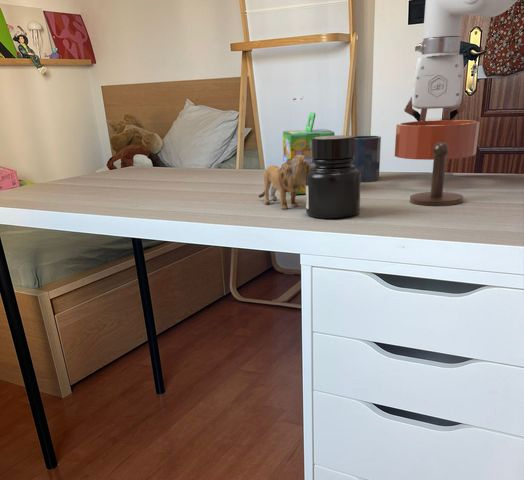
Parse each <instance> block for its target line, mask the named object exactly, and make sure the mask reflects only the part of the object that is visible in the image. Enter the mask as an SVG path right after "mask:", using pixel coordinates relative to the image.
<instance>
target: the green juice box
mask: <svg viewBox="0 0 524 480" xmlns="http://www.w3.org/2000/svg"><path fill="white" fill-rule="evenodd" d="M315 119H316V112H309V114H308V118H307V122H306V126H305V129H302V130H301V129H298V130H297V129H295V130H284V131H282V155H283V156H282V157H283V162H282V164H283V163H285V162H286V161H287V160H288V159H290V158H292V157H294V156H296V155H302V156H305V159H306V162H307V163H308V164H309V165H310V166H312V167H313V166H315V163H313V162H312V159H313V158H312V138H314V137H321V136H336V135H335V131H333V130H331V129H327V128H326V129H325V128H319V129H314V124H315ZM288 193H289V194H290V195H291V192H288ZM296 195H306V182H305V183H304V184H303V185H301V186H300V190H298V191H297V192H296Z"/></svg>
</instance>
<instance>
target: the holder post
mask: <svg viewBox="0 0 524 480" xmlns="http://www.w3.org/2000/svg"><path fill="white" fill-rule="evenodd" d="M448 151H449V148H448V145H447V144H446V143H444V142H439V143H437V144H436V145H435V146H434V147H433V155H434V160H433V163H432V175H431V184H430V185H431V186H430V191H425V192H417V193H414V194H411V195H410V196H409V202H410V203H411V204H414V205H420V206H427V207H429V206H430V207H444V206H445V207H446V206H454V205H458V204H461V203H463V201H464V195H462V194H461V193H456V192H448V191H447V192H446V191H444V183H445V182H444V181H445V173H446V172H445V171H446V162H447V159H446V155H447V154H448Z"/></svg>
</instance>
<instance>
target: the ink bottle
mask: <svg viewBox="0 0 524 480" xmlns="http://www.w3.org/2000/svg"><path fill="white" fill-rule="evenodd" d="M355 136H356V135H350V134H349V135H347V134H346V135H343V134H341V135H340V134H339V135H335V136H321V137H314V138H312V158H313V159H312V162H313V163H315V166H313V167H312V168H311V170H310V171H309V172H308V173H307V174H306V194H305V212H306V213H305V214H306V215H308V216H310V217H314V218H320V219H342V218H347V217H352V216H356V215H358V214H359V213H360V212H361V185H362V182H361V174H360V171H359V170H358V169H356V168H355V166H354V165H352V164H351V162H353V161H354V159H355V158H354V156H355Z"/></svg>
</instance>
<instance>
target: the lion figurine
mask: <svg viewBox="0 0 524 480" xmlns="http://www.w3.org/2000/svg"><path fill="white" fill-rule="evenodd" d="M311 168H312V166H310V165H309V164H308V163H307V162H306V159H305V156H302V155H296V156H294V157H292V158H290V159H288V160H287V161H286V162H285V163H283V162H282V164H281V167H279V166H277V165H275V164H274V165H273V164H271V165H270V166H267V168H266V169H265V170H264V175H263V182H264V183H263V184H264V190H263V192H262V193H260V194H259V195H258V198H259V199H260V198H263V197H264V202H263V204H264V205H270V204H271V200H272V201H277V199H278V198H277V197H278V196H276V192H277V190H278V191H279V197H280V209H281V210H288V209H289V206H288V203H287V193H289V192H291V194H290V200H289V204H290V206H291V207H293V208H295V207H299V203H298V202H296V196H297V194H296V192H297V191H298V190H300V186H301V185H303V184H304V183H305V182H306V174H307V173H308V172H309V171H310V170H311ZM270 188H271V189H270ZM270 199H271V200H270Z"/></svg>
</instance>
